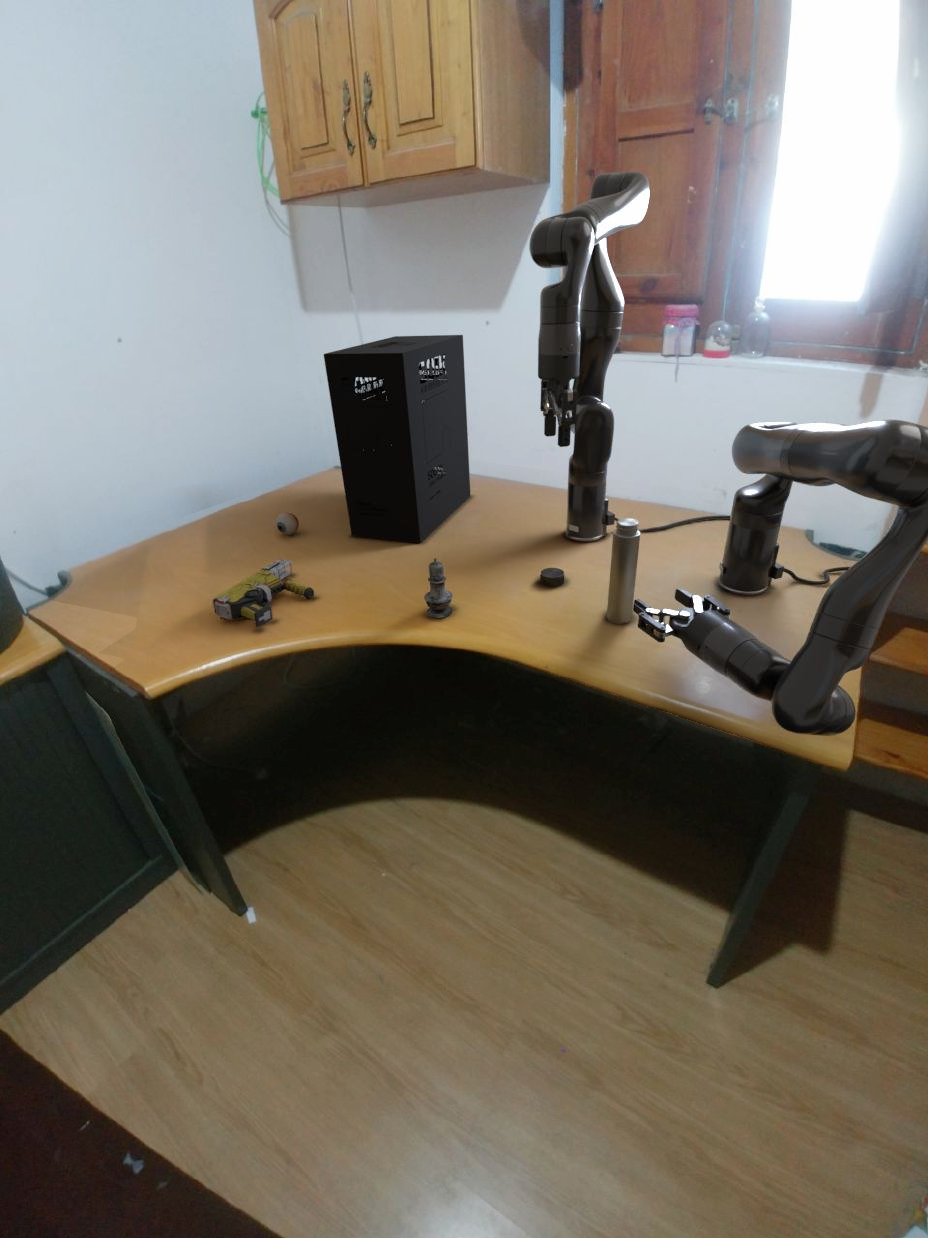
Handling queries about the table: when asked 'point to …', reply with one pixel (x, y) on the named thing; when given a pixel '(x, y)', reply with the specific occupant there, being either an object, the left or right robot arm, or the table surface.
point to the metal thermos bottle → (623, 570)
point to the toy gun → (258, 594)
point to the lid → (552, 577)
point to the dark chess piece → (438, 592)
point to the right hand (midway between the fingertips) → (656, 598)
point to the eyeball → (287, 523)
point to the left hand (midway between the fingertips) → (556, 440)
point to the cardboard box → (401, 434)
